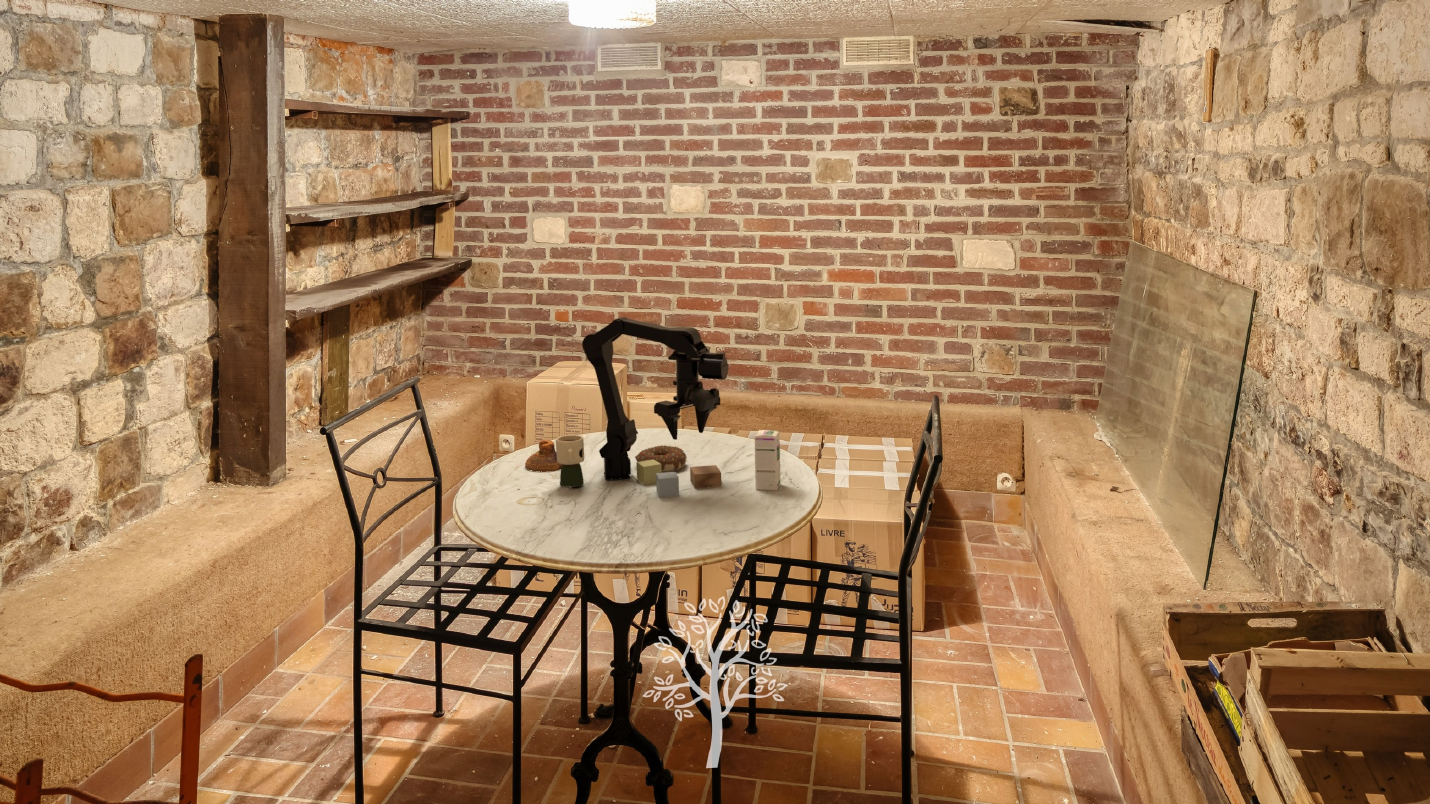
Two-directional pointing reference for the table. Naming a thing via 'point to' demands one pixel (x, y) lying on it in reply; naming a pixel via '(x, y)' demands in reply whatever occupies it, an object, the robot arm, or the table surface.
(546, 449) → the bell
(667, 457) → the donut
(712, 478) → the walnut slab
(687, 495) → the table surface
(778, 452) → the syrup box
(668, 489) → the slate cube
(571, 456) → the character mug
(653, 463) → the olive cube
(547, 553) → the table surface
